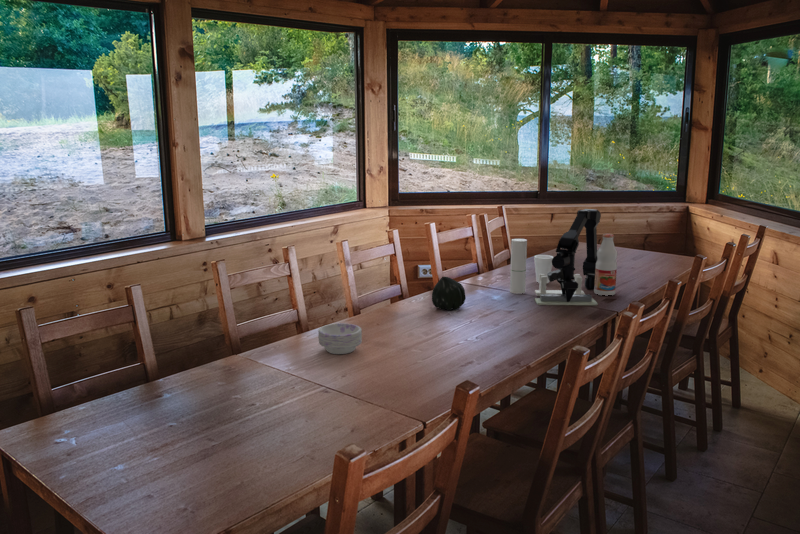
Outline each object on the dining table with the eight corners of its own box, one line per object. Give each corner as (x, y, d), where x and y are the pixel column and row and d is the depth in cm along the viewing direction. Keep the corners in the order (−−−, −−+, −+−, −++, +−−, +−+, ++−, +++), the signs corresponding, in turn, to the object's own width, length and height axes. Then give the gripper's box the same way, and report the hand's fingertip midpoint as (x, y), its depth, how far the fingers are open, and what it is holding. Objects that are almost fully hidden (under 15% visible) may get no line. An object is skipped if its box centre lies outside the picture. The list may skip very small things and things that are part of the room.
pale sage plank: (593, 300, 283) (593, 298, 282) (597, 305, 275) (597, 303, 275) (534, 299, 284) (534, 298, 284) (537, 304, 276) (537, 303, 276)
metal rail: (589, 300, 280) (590, 294, 280) (591, 301, 277) (591, 296, 277) (540, 299, 282) (540, 294, 281) (541, 301, 279) (541, 296, 278)
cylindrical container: (524, 290, 301) (526, 238, 296) (525, 293, 294) (527, 241, 289) (509, 289, 302) (510, 238, 297) (510, 293, 295) (512, 241, 290)
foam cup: (547, 285, 310) (548, 259, 307) (530, 282, 316) (531, 257, 313) (555, 281, 318) (556, 256, 315) (538, 278, 323) (539, 254, 320)
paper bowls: (362, 342, 230) (362, 321, 229) (361, 357, 215) (361, 335, 214) (320, 343, 230) (320, 322, 228) (316, 358, 215) (316, 336, 213)
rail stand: (582, 292, 295) (583, 274, 293) (585, 296, 290) (586, 277, 288) (534, 292, 297) (535, 273, 295) (536, 295, 291) (537, 276, 289)
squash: (474, 292, 276) (451, 267, 276) (468, 303, 262) (444, 276, 262) (450, 311, 281) (428, 286, 281) (443, 322, 267) (420, 296, 267)
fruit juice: (607, 290, 300) (610, 232, 293) (619, 295, 291) (623, 235, 285) (589, 292, 297) (593, 233, 291) (601, 297, 288) (605, 236, 282)
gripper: (545, 260, 285) (544, 293, 289) (552, 269, 267) (551, 304, 271) (570, 260, 285) (568, 293, 288) (579, 269, 266) (577, 305, 270)
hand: (565, 299), depth 279 cm, fingers open, 9 cm apart
